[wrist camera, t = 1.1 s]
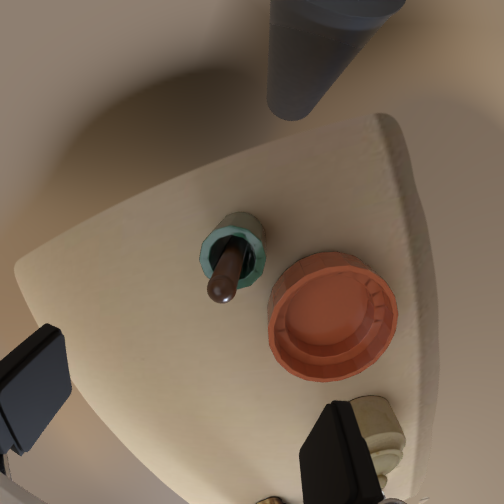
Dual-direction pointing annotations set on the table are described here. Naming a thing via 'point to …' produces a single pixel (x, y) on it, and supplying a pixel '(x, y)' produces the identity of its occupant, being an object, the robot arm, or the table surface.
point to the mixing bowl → (330, 317)
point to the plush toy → (272, 501)
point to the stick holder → (254, 252)
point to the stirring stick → (227, 271)
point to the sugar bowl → (380, 433)
